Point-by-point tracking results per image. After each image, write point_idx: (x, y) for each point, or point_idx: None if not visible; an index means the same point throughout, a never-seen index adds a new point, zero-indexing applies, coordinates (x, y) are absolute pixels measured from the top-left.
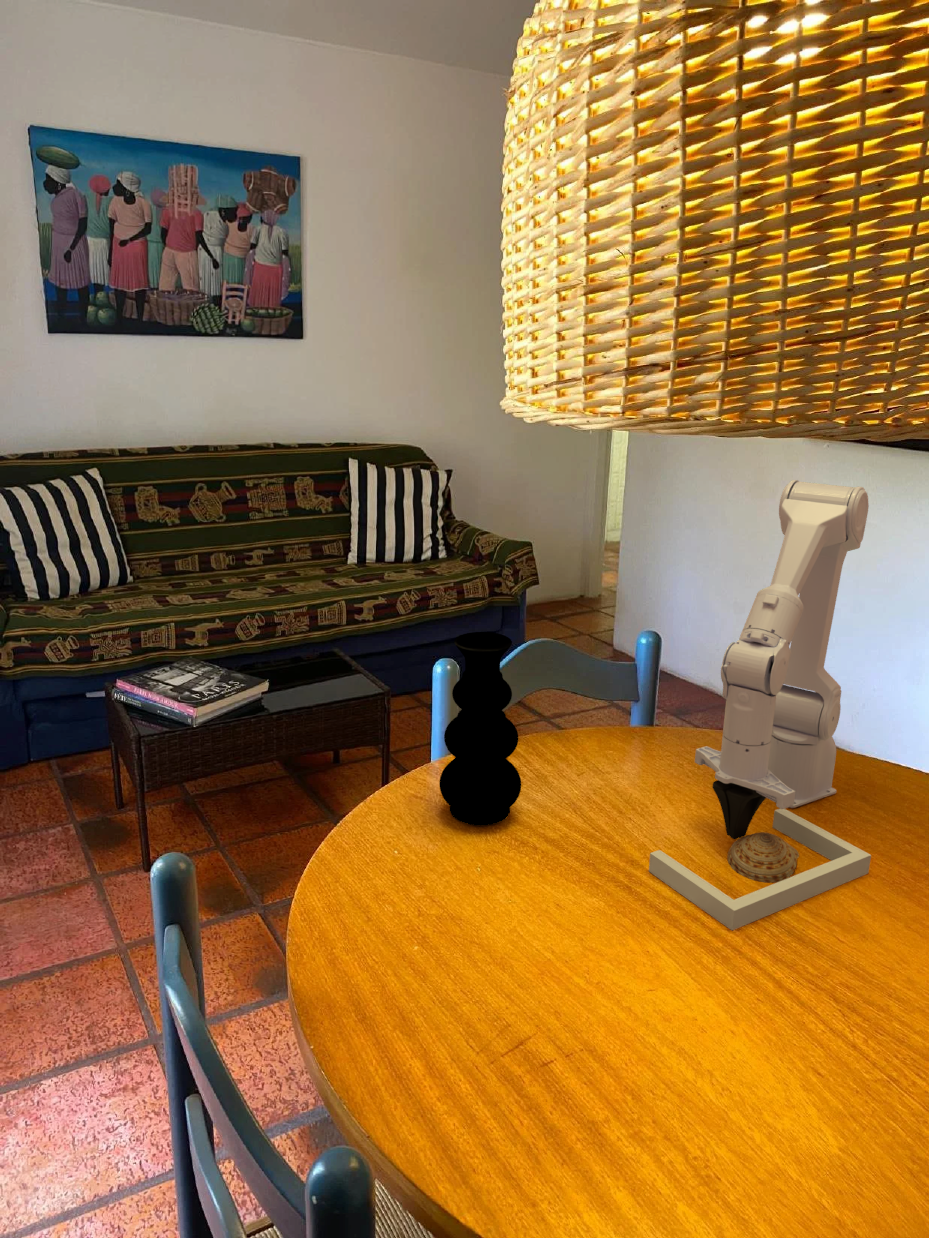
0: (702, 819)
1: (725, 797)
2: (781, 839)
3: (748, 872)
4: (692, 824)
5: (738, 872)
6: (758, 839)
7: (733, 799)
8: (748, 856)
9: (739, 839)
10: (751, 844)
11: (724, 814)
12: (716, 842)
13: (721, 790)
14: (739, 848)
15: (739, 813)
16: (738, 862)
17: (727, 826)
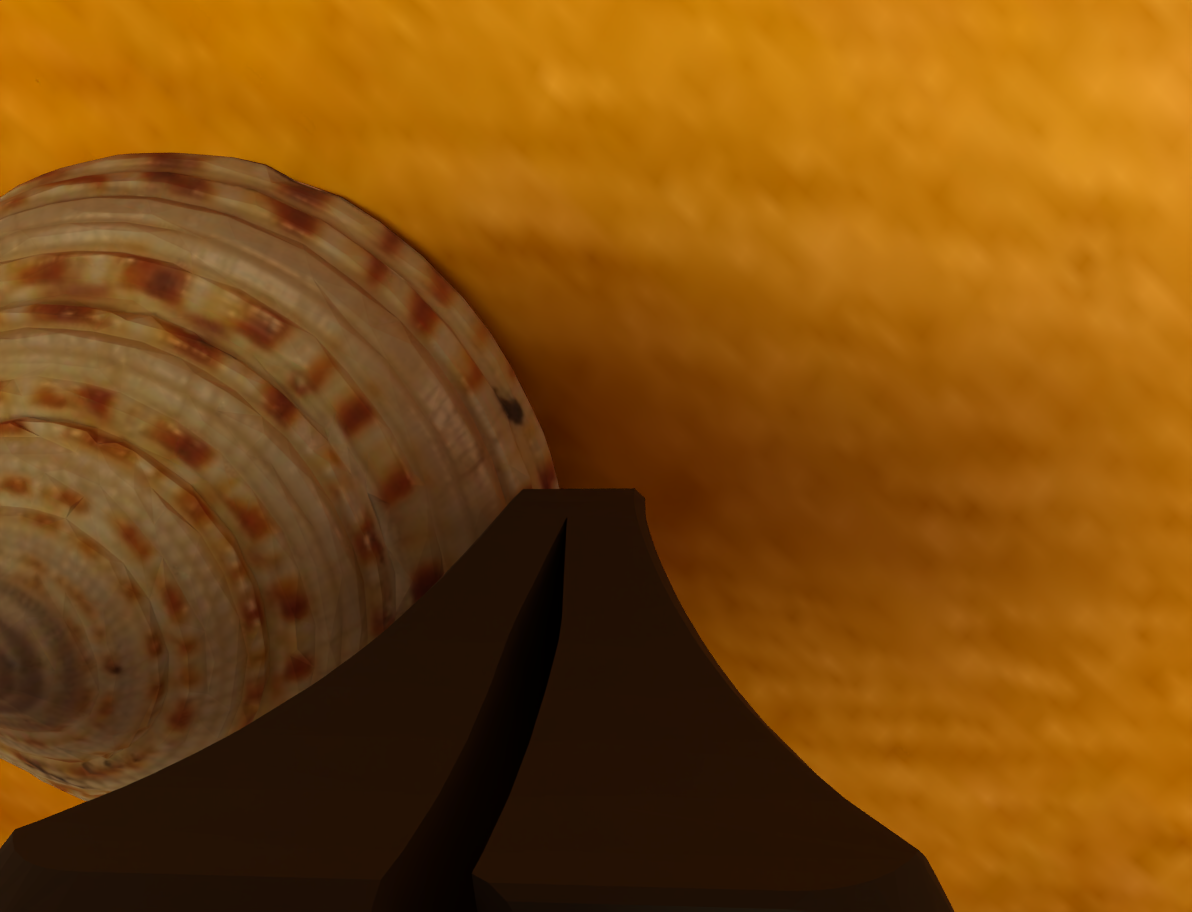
0: (1182, 589)
1: (512, 801)
2: (74, 787)
3: (20, 205)
4: (1188, 434)
5: (146, 157)
6: (32, 567)
7: (221, 832)
8: (53, 322)
9: (454, 517)
10: (80, 461)
11: (644, 610)
12: (752, 393)
13: (552, 880)
14: (281, 377)
15: (285, 706)
16: (159, 217)
17: (595, 530)
